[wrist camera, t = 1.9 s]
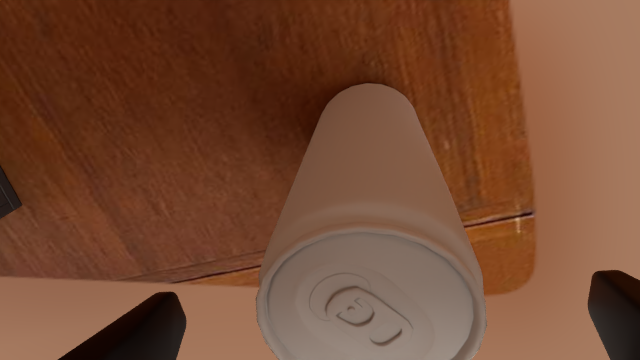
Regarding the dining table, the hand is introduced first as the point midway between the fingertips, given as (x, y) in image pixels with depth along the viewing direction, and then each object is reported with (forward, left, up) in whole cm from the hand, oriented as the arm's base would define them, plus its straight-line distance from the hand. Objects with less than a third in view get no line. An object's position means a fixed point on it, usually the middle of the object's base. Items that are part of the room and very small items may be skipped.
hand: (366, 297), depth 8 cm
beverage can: (0, 0, -11) cm, 11 cm away
